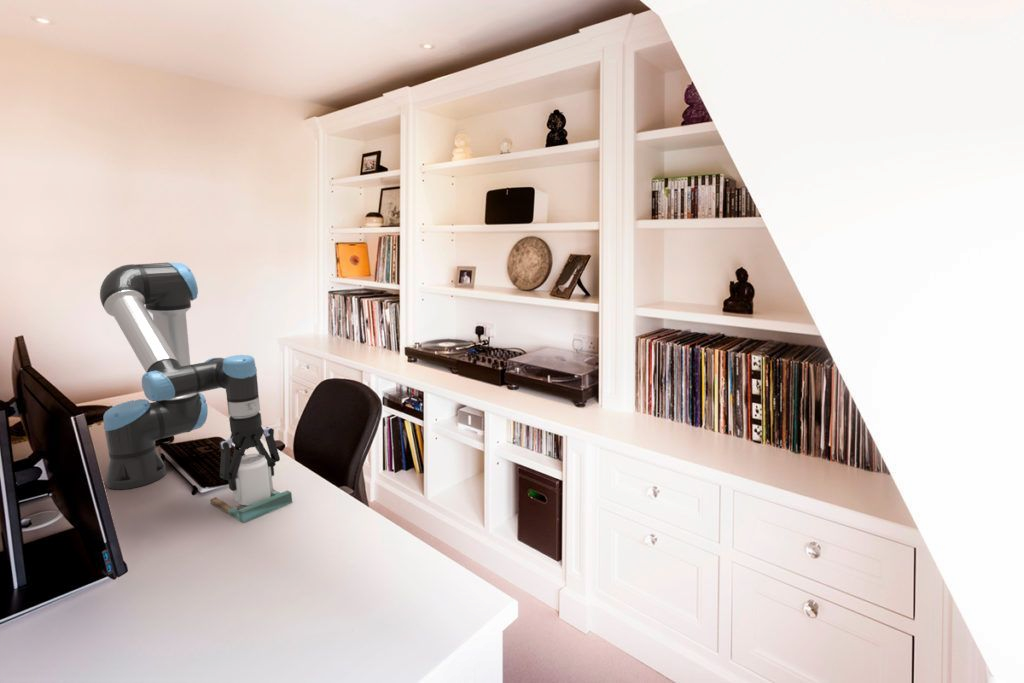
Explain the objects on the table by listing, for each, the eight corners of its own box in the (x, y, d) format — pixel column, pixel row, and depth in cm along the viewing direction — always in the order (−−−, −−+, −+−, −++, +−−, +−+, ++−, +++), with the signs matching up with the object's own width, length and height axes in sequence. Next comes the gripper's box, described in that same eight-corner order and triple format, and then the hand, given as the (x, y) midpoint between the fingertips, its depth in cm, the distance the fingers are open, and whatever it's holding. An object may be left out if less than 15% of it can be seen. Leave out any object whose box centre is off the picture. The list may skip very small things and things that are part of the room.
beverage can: (258, 508, 143) (253, 466, 141) (231, 506, 145) (226, 463, 143) (277, 494, 151) (272, 453, 149) (251, 492, 153) (246, 451, 150)
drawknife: (210, 503, 150) (209, 493, 149) (258, 485, 160) (257, 475, 160) (243, 523, 139) (242, 512, 138) (292, 502, 150) (291, 492, 149)
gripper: (210, 428, 133) (221, 513, 137) (289, 406, 149) (296, 483, 154) (196, 422, 137) (207, 505, 142) (274, 401, 154) (282, 476, 158)
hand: (253, 494), depth 148 cm, fingers closed on beverage can, 8 cm apart
